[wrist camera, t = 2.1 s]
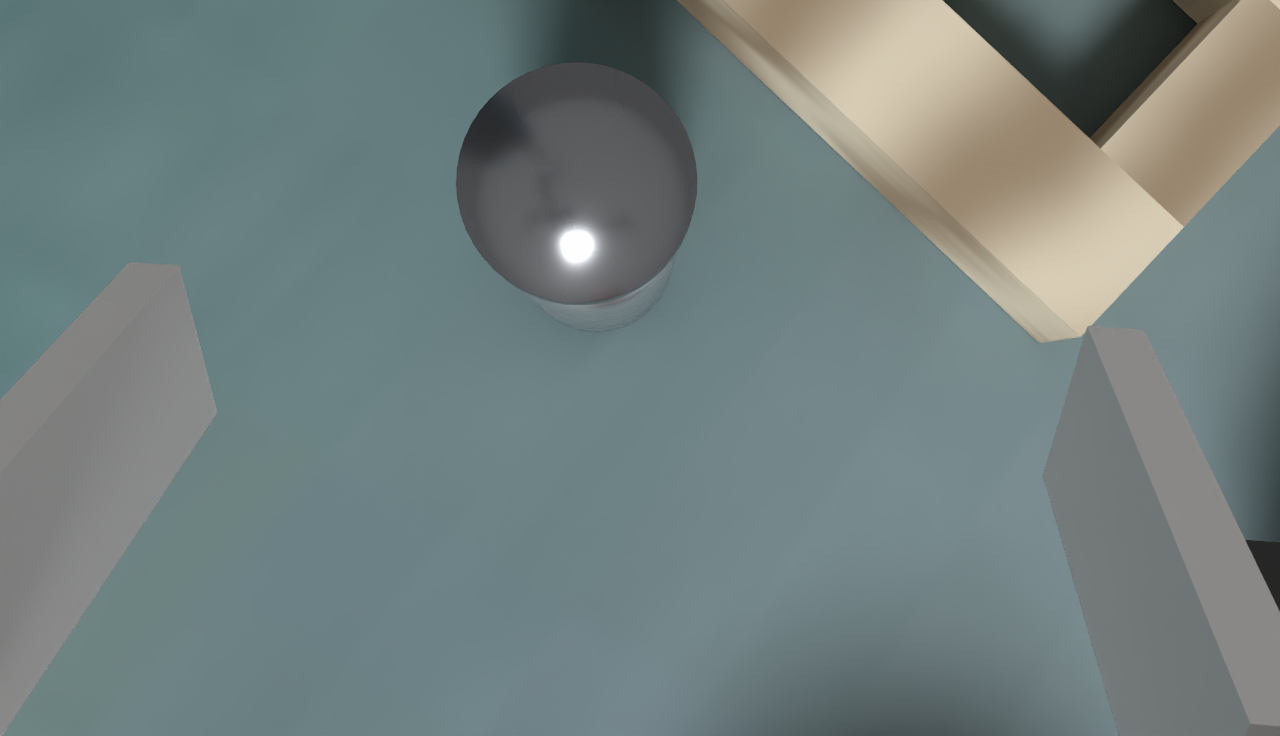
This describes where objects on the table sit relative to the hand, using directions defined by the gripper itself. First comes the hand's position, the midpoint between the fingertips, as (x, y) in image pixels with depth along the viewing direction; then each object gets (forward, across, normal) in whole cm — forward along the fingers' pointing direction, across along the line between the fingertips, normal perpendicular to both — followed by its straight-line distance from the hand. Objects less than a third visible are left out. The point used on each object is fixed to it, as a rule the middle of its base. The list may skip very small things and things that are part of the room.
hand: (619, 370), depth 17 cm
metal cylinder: (+15, -2, -6) cm, 16 cm away
